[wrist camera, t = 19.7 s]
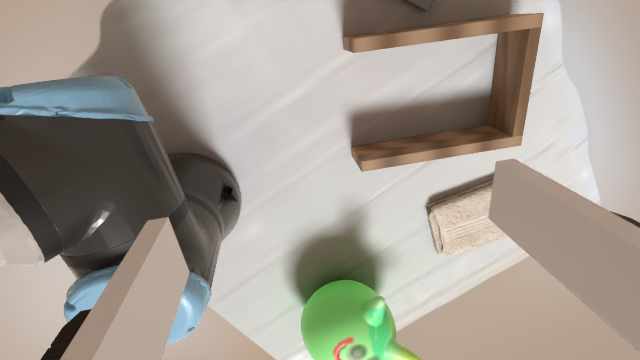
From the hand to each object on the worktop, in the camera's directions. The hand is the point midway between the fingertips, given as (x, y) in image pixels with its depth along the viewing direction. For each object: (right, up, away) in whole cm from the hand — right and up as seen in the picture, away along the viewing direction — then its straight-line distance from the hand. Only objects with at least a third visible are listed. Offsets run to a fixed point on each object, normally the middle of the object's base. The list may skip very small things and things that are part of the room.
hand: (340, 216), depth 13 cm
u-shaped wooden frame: (+14, +15, +34) cm, 40 cm away
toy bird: (+4, -21, +50) cm, 54 cm away
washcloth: (+27, -4, +46) cm, 54 cm away
